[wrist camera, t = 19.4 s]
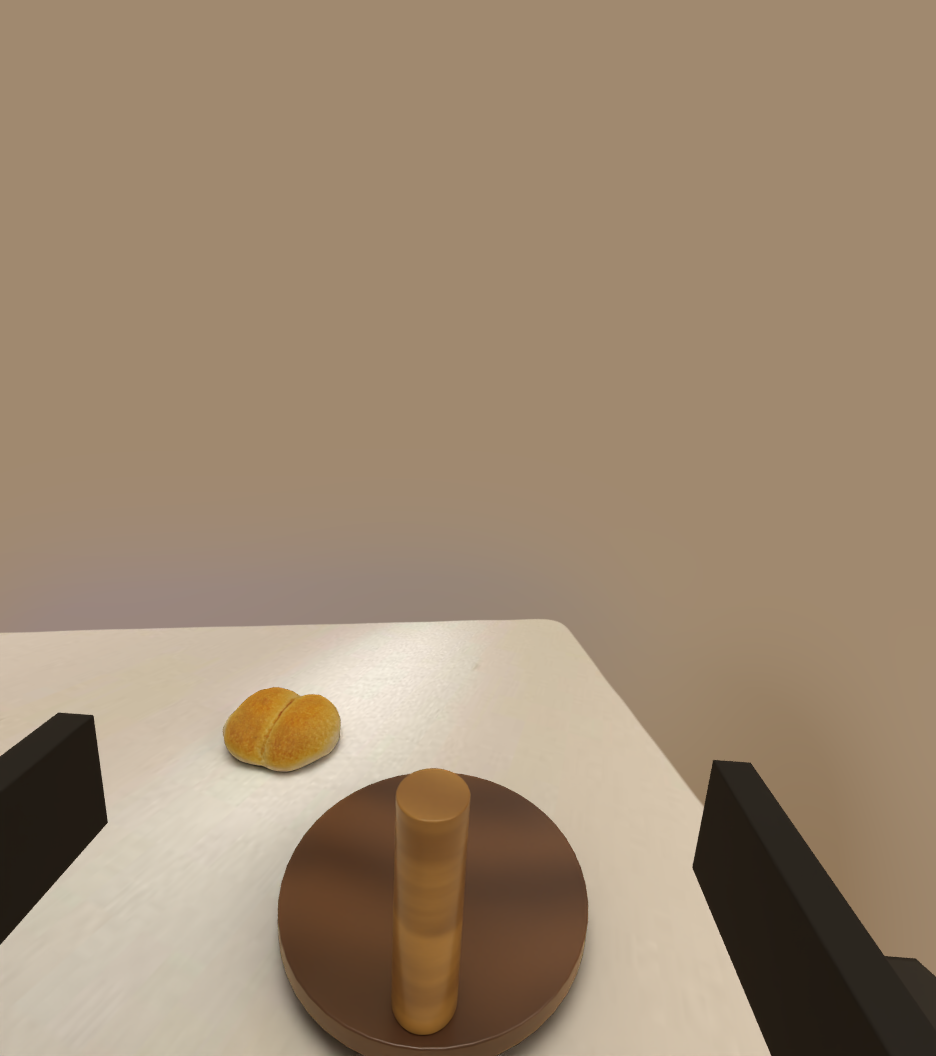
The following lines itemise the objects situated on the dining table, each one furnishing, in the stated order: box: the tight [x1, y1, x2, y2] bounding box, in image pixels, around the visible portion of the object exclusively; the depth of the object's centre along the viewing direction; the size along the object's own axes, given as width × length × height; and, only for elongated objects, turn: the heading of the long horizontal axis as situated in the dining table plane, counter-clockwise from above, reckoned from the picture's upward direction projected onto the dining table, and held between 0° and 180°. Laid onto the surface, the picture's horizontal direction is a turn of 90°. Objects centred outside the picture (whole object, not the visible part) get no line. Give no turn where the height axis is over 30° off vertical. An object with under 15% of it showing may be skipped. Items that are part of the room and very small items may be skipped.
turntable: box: [278, 768, 588, 1056], centre depth 30 cm, size 17×17×12 cm
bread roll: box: [223, 687, 340, 771], centre depth 45 cm, size 8×9×4 cm
